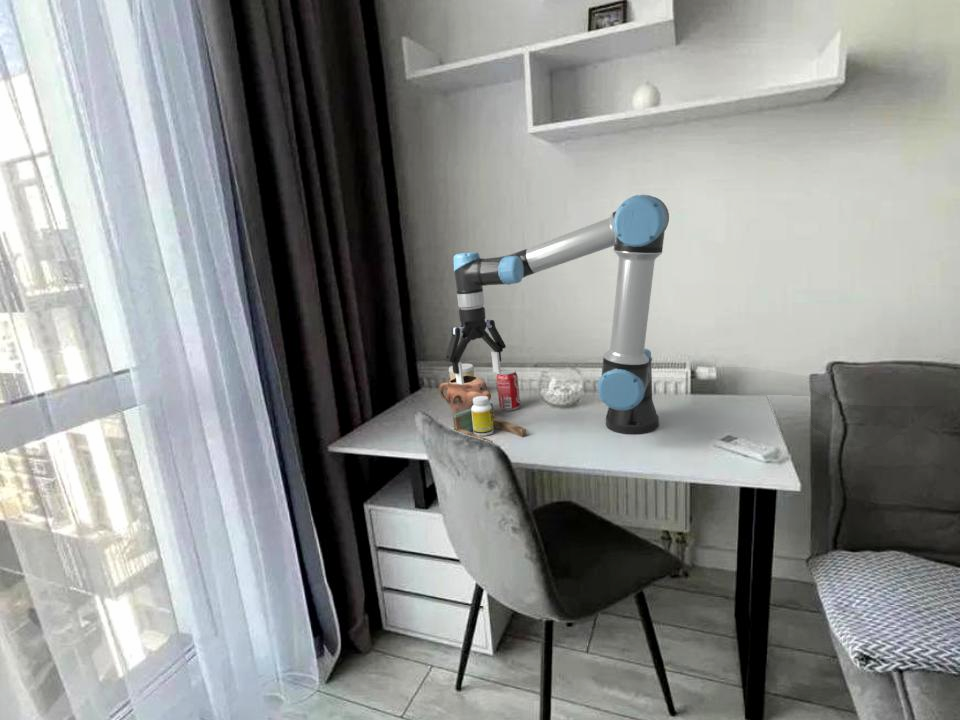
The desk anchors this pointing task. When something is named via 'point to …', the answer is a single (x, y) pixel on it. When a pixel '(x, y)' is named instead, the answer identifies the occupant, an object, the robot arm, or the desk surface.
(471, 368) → the coffee cup
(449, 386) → the decorative planter
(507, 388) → the soda can
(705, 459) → the desk surface
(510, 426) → the green panel wooden stand
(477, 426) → the pill bottle
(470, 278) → the robot arm
